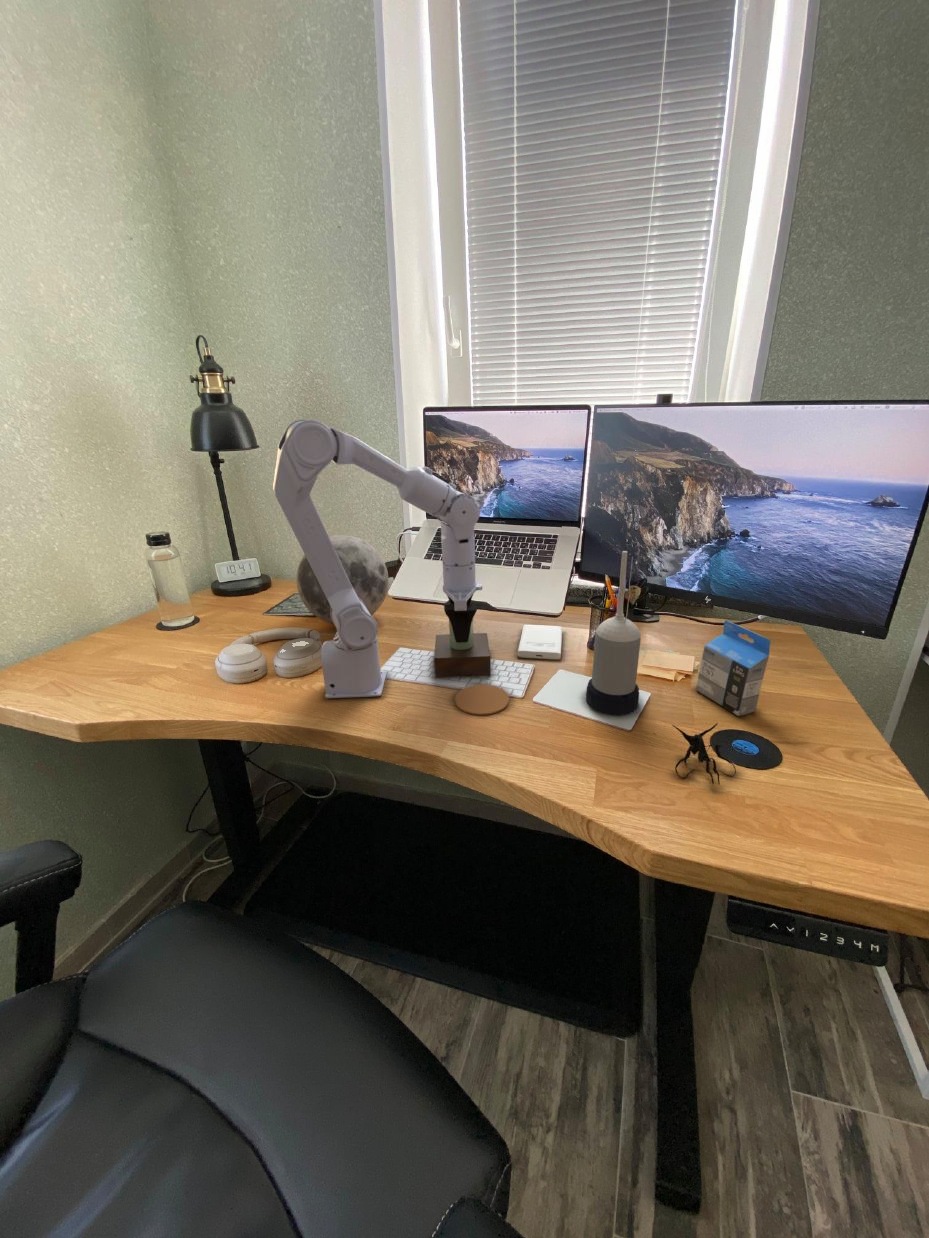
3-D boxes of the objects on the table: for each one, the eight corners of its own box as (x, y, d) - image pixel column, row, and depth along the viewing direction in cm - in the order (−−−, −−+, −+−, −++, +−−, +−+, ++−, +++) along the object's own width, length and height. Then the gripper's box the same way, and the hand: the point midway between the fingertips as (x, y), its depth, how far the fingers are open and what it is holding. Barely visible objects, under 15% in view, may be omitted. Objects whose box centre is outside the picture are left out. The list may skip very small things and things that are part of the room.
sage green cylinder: (450, 650, 92) (448, 615, 89) (450, 640, 96) (448, 606, 93) (474, 649, 92) (473, 614, 89) (473, 639, 96) (472, 605, 93)
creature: (743, 791, 64) (715, 742, 70) (756, 764, 61) (726, 715, 67) (682, 794, 64) (659, 745, 70) (692, 767, 60) (667, 718, 67)
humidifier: (616, 684, 87) (630, 542, 77) (649, 708, 80) (668, 555, 70) (576, 694, 84) (585, 549, 74) (605, 720, 77) (619, 563, 67)
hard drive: (562, 633, 107) (560, 660, 96) (523, 631, 109) (517, 657, 97) (562, 626, 106) (560, 652, 95) (523, 624, 108) (517, 649, 97)
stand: (435, 677, 91) (434, 658, 89) (437, 652, 100) (435, 634, 99) (490, 675, 91) (490, 656, 89) (487, 651, 100) (486, 632, 99)
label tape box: (694, 690, 84) (705, 622, 80) (713, 685, 86) (725, 618, 81) (737, 717, 77) (752, 644, 72) (757, 711, 78) (774, 639, 73)
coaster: (454, 716, 79) (454, 714, 79) (454, 687, 88) (454, 685, 88) (511, 714, 79) (511, 712, 79) (506, 685, 88) (506, 683, 88)
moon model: (303, 612, 123) (289, 531, 115) (384, 601, 128) (377, 523, 120) (304, 645, 105) (288, 552, 97) (399, 631, 110) (391, 542, 103)
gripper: (484, 573, 81) (485, 649, 86) (479, 550, 94) (481, 616, 100) (440, 575, 81) (444, 650, 86) (442, 551, 94) (445, 618, 100)
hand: (461, 632), depth 93 cm, fingers open, 7 cm apart
